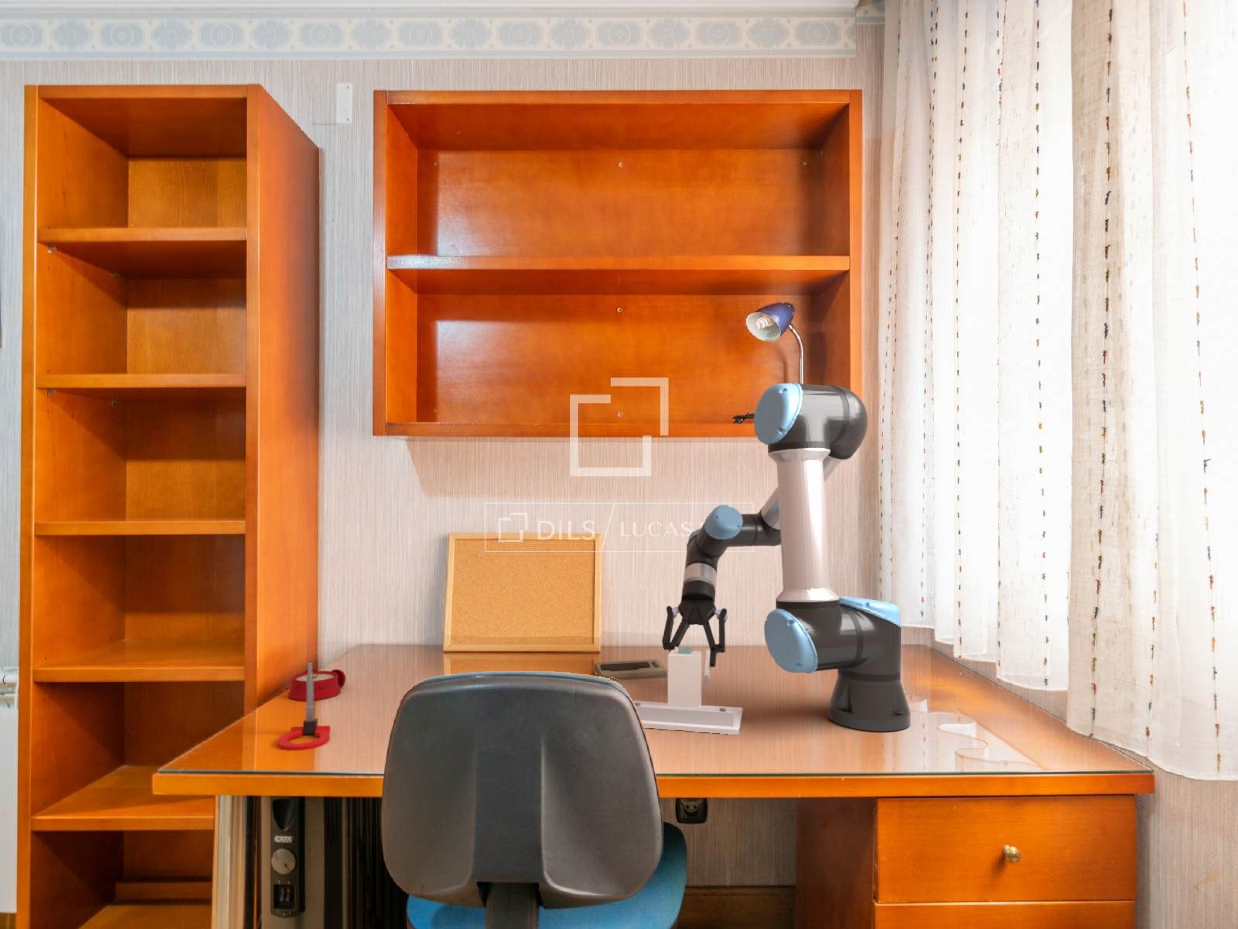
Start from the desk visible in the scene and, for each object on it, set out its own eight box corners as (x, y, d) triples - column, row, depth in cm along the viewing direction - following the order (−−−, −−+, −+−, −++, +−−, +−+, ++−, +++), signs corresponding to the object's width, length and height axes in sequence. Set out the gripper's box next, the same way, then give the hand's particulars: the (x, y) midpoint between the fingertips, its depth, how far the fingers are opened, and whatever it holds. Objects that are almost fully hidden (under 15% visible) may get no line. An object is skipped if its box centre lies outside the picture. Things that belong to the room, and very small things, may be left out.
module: (701, 707, 155) (701, 646, 155) (698, 714, 150) (698, 651, 151) (671, 705, 156) (671, 644, 157) (667, 712, 152) (667, 650, 152)
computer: (601, 683, 179) (601, 668, 179) (593, 674, 187) (593, 660, 187) (667, 679, 183) (667, 665, 183) (656, 671, 190) (657, 657, 191)
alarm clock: (278, 685, 160) (304, 653, 175) (280, 713, 161) (306, 679, 176) (329, 685, 160) (351, 653, 175) (331, 713, 162) (353, 679, 176)
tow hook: (322, 752, 133) (335, 732, 142) (322, 677, 132) (335, 661, 142) (270, 754, 132) (287, 734, 141) (270, 678, 131) (286, 662, 141)
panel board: (742, 712, 155) (742, 693, 155) (738, 735, 141) (738, 714, 141) (633, 705, 159) (633, 686, 160) (619, 726, 146) (619, 706, 146)
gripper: (741, 600, 179) (737, 690, 163) (659, 596, 183) (647, 685, 167) (740, 579, 174) (736, 671, 158) (656, 576, 178) (642, 665, 162)
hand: (690, 678), depth 163 cm, fingers open, 6 cm apart
